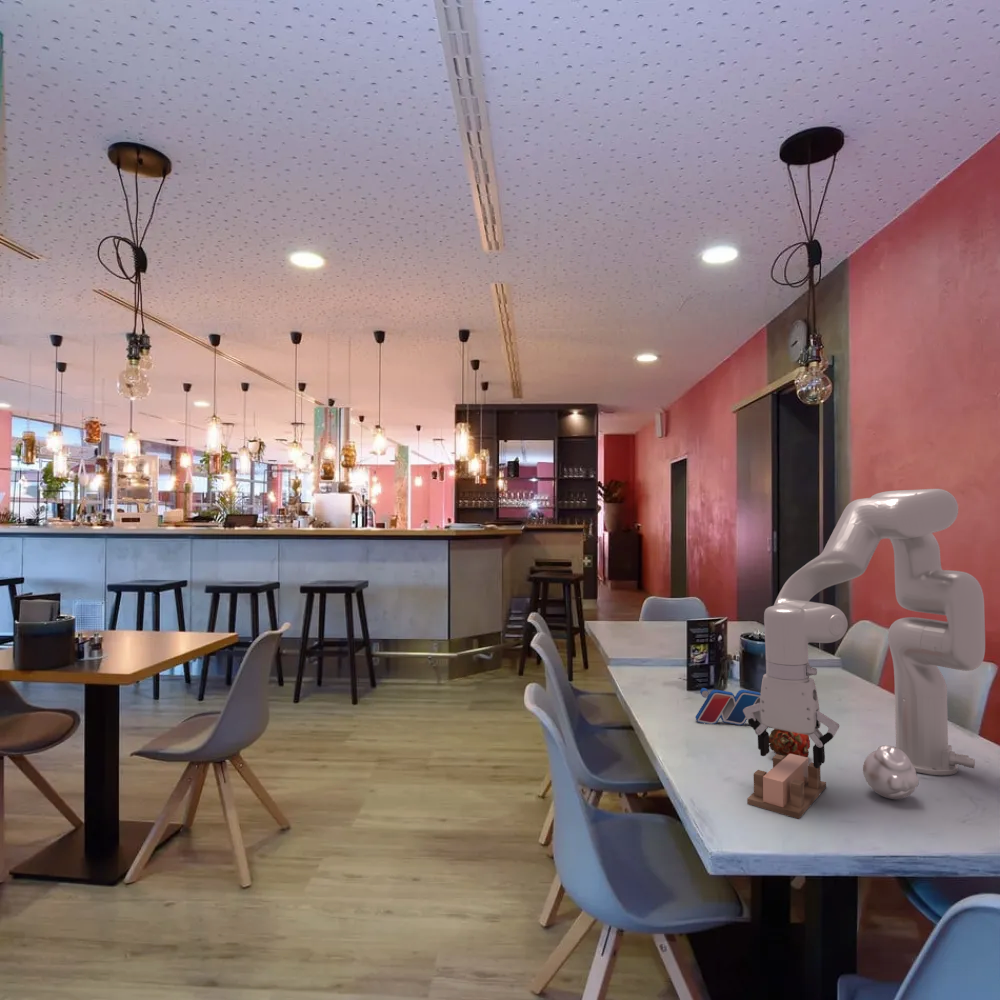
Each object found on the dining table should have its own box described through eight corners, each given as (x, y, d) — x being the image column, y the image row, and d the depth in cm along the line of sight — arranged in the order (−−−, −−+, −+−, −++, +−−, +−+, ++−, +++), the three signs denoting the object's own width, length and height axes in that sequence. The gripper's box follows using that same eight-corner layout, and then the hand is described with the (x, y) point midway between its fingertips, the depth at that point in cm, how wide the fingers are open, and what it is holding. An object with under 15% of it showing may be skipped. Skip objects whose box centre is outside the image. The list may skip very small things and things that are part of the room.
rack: (778, 775, 129) (778, 750, 130) (826, 787, 123) (825, 761, 124) (747, 803, 116) (747, 776, 116) (799, 818, 110) (798, 790, 110)
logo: (696, 722, 164) (701, 684, 164) (695, 719, 166) (699, 681, 166) (770, 735, 160) (775, 697, 161) (767, 732, 163) (772, 694, 163)
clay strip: (790, 775, 126) (789, 753, 127) (808, 780, 124) (808, 757, 124) (763, 801, 114) (762, 776, 115) (783, 807, 112) (782, 781, 112)
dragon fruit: (789, 776, 133) (783, 764, 144) (824, 755, 132) (815, 745, 143) (763, 739, 136) (758, 731, 147) (797, 718, 135) (790, 711, 146)
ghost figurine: (861, 801, 117) (860, 747, 118) (865, 784, 125) (864, 733, 126) (919, 813, 112) (918, 757, 113) (919, 795, 120) (917, 742, 121)
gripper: (841, 673, 118) (845, 764, 117) (748, 661, 129) (752, 744, 129) (831, 681, 112) (835, 777, 112) (735, 668, 124) (738, 755, 123)
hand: (790, 759), depth 120 cm, fingers open, 9 cm apart
